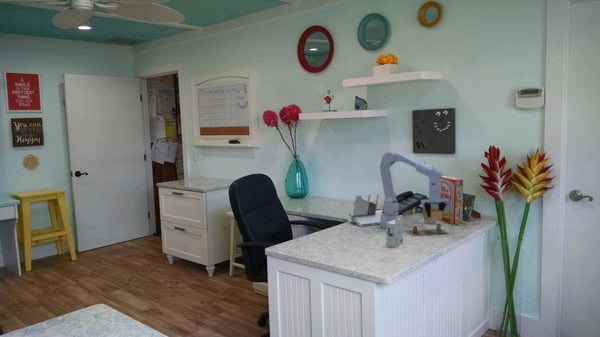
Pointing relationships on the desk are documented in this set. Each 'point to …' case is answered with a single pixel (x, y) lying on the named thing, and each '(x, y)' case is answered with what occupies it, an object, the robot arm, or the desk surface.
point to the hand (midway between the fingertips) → (434, 216)
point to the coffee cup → (426, 220)
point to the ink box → (394, 232)
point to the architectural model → (366, 212)
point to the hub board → (427, 231)
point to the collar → (435, 214)
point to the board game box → (452, 199)
